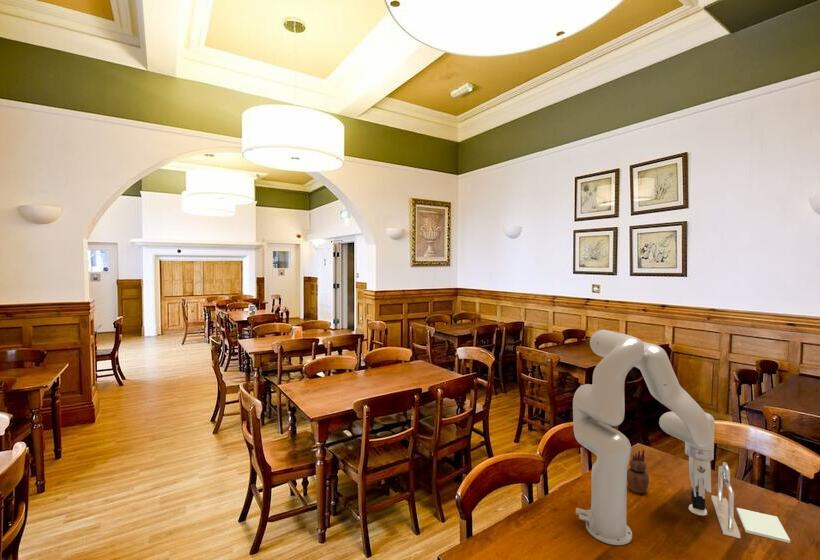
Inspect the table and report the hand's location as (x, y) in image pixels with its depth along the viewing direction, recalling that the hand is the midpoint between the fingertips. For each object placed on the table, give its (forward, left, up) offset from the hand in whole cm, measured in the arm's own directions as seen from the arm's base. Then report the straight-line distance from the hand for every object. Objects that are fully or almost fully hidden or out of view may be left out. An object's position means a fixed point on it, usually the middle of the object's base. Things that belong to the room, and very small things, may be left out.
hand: (697, 505), depth 131 cm
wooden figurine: (-17, +4, -2) cm, 18 cm away
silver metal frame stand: (+7, 0, -2) cm, 7 cm away
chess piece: (0, 0, -2) cm, 2 cm away
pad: (+16, 0, -2) cm, 16 cm away
